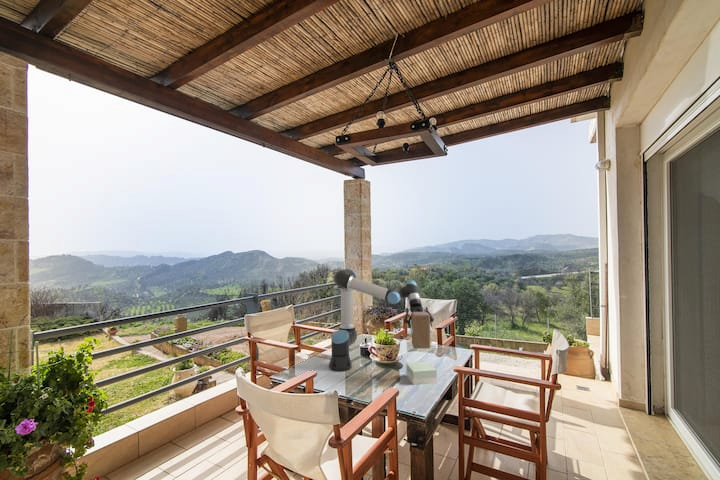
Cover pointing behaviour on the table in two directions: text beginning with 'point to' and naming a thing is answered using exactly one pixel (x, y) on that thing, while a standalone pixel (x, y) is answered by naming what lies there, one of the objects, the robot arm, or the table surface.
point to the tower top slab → (421, 370)
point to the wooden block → (420, 329)
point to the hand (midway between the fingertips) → (421, 332)
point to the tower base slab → (420, 379)
